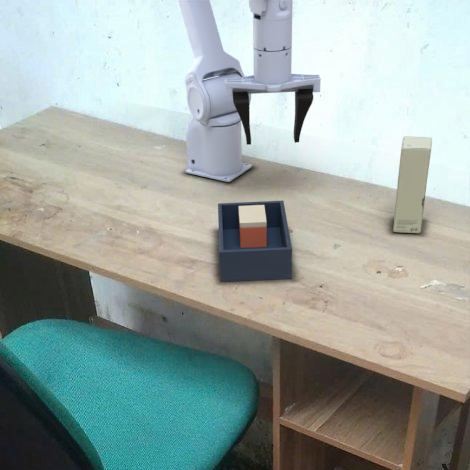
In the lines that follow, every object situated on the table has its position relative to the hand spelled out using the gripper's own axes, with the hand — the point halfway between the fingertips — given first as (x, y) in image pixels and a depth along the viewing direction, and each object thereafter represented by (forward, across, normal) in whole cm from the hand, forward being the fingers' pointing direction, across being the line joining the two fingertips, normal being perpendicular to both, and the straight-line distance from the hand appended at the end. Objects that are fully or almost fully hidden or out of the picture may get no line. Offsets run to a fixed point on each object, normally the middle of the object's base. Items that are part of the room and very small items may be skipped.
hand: (272, 141), depth 128 cm
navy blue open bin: (+9, -4, -20) cm, 22 cm away
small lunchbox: (+9, -4, -16) cm, 18 cm away
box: (+10, +20, -13) cm, 26 cm away
